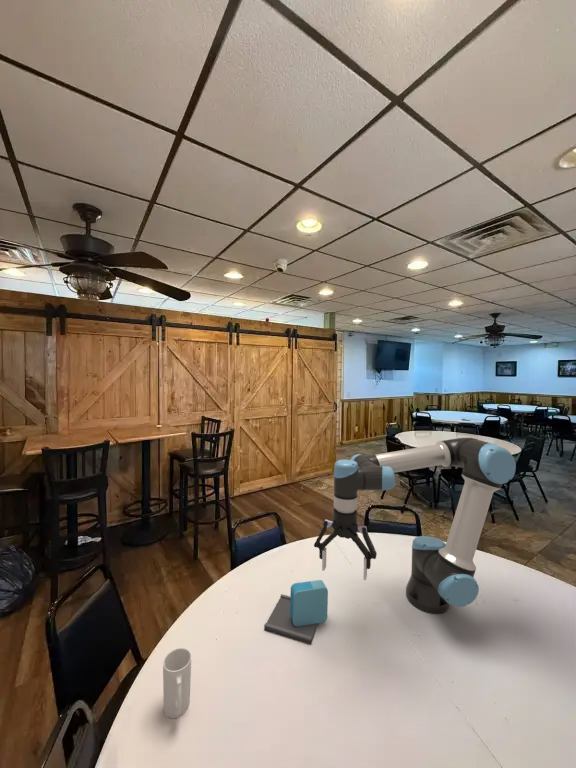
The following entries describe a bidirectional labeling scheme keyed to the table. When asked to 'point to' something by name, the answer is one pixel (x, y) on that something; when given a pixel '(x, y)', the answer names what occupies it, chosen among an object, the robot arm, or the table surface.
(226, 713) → the table surface
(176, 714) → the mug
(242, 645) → the table surface
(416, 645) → the table surface
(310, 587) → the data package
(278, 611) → the dark gray square slab
